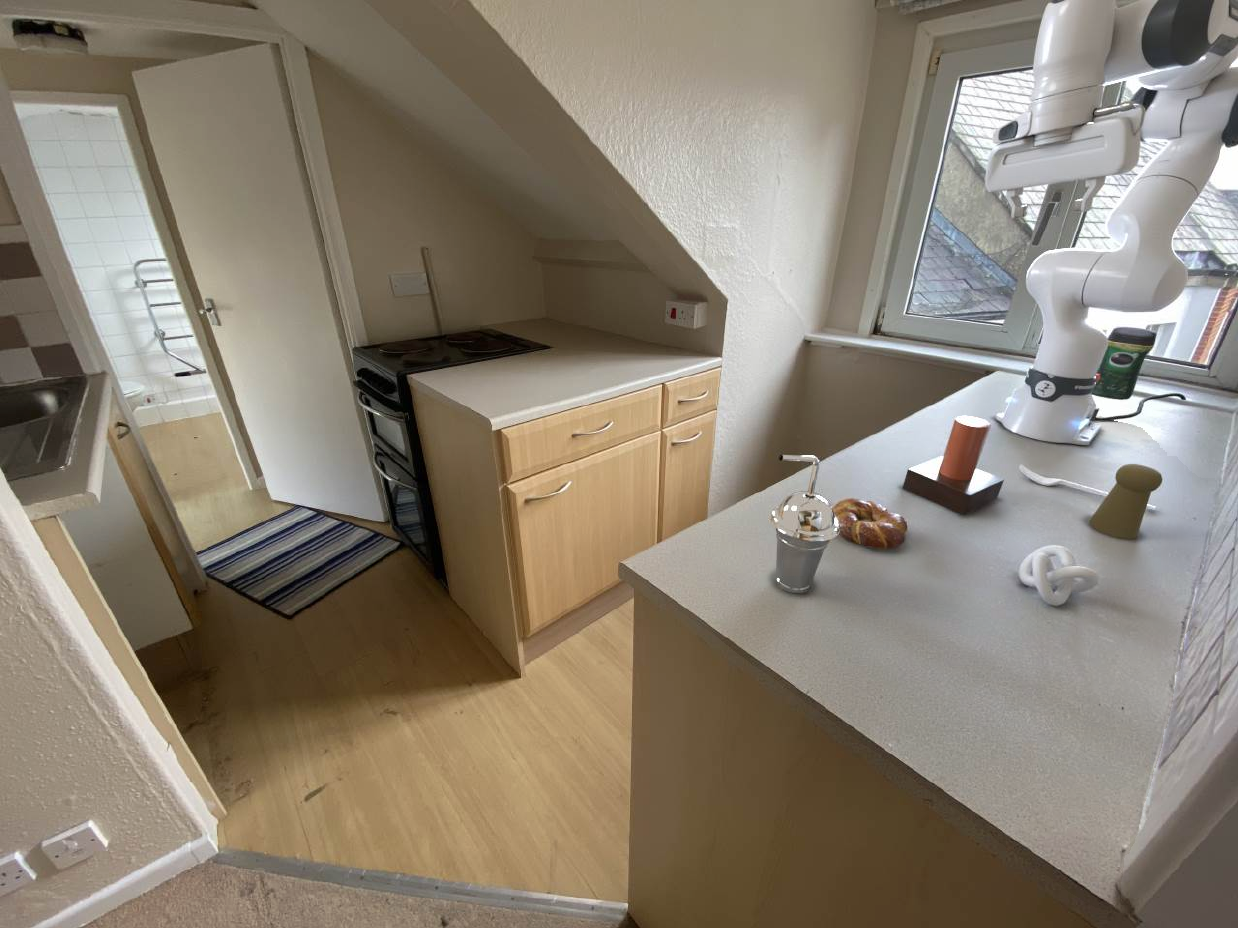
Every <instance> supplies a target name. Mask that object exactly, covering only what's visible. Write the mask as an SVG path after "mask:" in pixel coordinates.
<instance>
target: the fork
mask: <svg viewBox="0 0 1238 928" xmlns="http://www.w3.org/2000/svg"><path fill="white" fill-rule="evenodd" d="M1018 469H1019V471H1021V472H1022V473H1023V474H1024V476H1026V477H1027V478H1029V479H1030V480H1032V481H1033V482H1035V483H1037V484H1038V485H1042V486H1046V487H1047V486H1049V487H1050V486H1055V485H1063V486H1066V487H1070V488H1072V489H1077V490H1080V491H1082V492H1083V491H1084V492H1088V493H1091V494H1094V495H1098V496H1101V497H1104V498H1106V497H1107V495H1108V494H1109V493H1110V492H1107V491H1103V490H1100V489H1097V488H1095V487H1094V488H1093V487H1089V486H1087V485H1082V484H1080V483H1076V482H1073V481H1069V480H1066V479H1062V478H1055V477H1053V478H1052V477H1046V476H1043V475H1040V474H1038V473H1036V472H1034V471H1032V470H1030V469H1028V468H1027V467H1026V466H1024V465H1023V464H1021V463H1020V465H1019V467H1018ZM1146 509H1148V510H1152V511H1155V512H1156V511H1157V506H1155V505H1152V504H1149V503H1148V504H1147V507H1146Z"/></svg>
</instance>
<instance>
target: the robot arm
mask: <svg viewBox="0 0 1238 928" xmlns="http://www.w3.org/2000/svg"><path fill="white" fill-rule="evenodd" d="M1116 1H1117V0H1050V1H1049V2H1048V3H1047V5H1046V6H1045V8H1044V11H1043V12H1044V13H1043V14H1042V17H1041V21H1040V25H1039V29H1038V34H1037V40H1036V43H1035V45H1036V46H1035V49H1034V56H1033V65H1032V73H1033V77H1034V79H1033V80H1034V81H1033V82H1034V83H1033V88H1032V92H1031V94H1030V97H1029V101H1028V107H1027V109H1028V110H1026V111H1024V112H1023V113H1021V114H1019V115H1018V116H1017V117H1015V118H1013V119H1011V120H1009V121H1008V122H1006V123H1005V124H1003V125H1001V126H999V127H998V128H996V129H995V130H994V131H993V133H992V143H993V144H995V146H993V148H992V149H991V151H990V153H989V156H988V157H987V158H988V159H987V164H986V169H985V170H986V171H985V177H984V178H985V179H984V188H985V189H986V191H987V192H988V193H997V192H1005V191H1006V195H1005V199H1006V201H1007V202H1008V204H1009V206H1010V209H1011V214H1010V218H1011V219H1021V218H1026V217H1027V215H1028V207H1029V206H1028V204H1025V205H1024V204H1023V202H1022V199H1021V198H1020V197H1021V196H1022V195H1023V194H1024V189H1026V188H1032V187H1039V186H1047V185H1048V186H1049V185H1053V184H1054V185H1055V184H1061V183H1067V182H1068V183H1069V182H1074V181H1075V182H1077V181H1082V180H1085V188H1088V189H1087V190H1086V192H1085V193H1084V195H1083V196H1082V198H1080V199H1077V200H1074V208H1073V213H1085V212H1089V211H1091V209H1092V208H1093V202H1094V201H1093V200H1094V198H1095V197H1096V196H1097V194H1098V193H1099V192H1100V190H1101V189H1102V188H1103V187H1104V186H1105V183H1106V177H1111V176H1117V175H1122V174H1123V175H1124V174H1127V173H1130V172H1131V171H1132V170H1133V169H1135V167H1136V166H1137V165H1138V163H1139V160H1140V153H1141V143H1147V142H1167V143H1166V145H1165V146H1164V147H1163V148H1162V149H1161V150H1160V151H1159V152H1157V154H1155V155H1154V157H1153V158H1152V159H1151V160H1150V161H1149V162H1148V163H1147V164H1146V165H1145V166H1144V167H1143V168H1142V170H1141V171H1140V172H1139V173H1138V175H1136V177H1135V178H1134V180H1133V181H1132V182H1131V183H1130V185H1129V186H1128V187H1127V189H1126V191H1125V192H1124V193H1123V195H1122V196H1121V197H1120V199H1119V200H1118V202H1117V203H1116V204H1115V206H1114V207H1113V208H1112V210H1111V211H1110V213H1109V214H1108V215H1107V218H1106V221H1105V232H1106V234H1107V236H1108V237H1109V238H1110V239H1111V240H1112V241H1113V242H1114V243H1115V244H1117V245H1118V246H1120V247H1119V248H1116V249H1111V250H1110V249H1109V250H1108V249H1093V248H1092V249H1091V248H1079V247H1072V248H1071V247H1070V248H1060V249H1053V250H1048V251H1045V252H1043V253H1042V254H1041V255H1039V256H1038V257H1037V258H1036V259H1035V260H1034V261H1033V262H1032V263H1031V265H1030V267H1029V268H1028V269H1027V273H1026V277H1025V287H1026V289H1027V292H1028V293H1029V295H1030V296H1031V297H1032V298H1033V299H1034V300H1035V302H1036V303H1037V305H1038V308H1039V310H1040V313H1041V317H1042V324H1043V325H1042V326H1043V327H1042V335H1041V340H1040V343H1039V347H1038V351H1037V353H1036V356H1035V359H1034V362H1033V363H1032V365H1031V366H1029V369H1028V371H1027V372H1026V374H1025V379H1024V384H1022V385H1020V386H1018V387H1015V388H1014V390H1013V392H1012V394H1011V397H1006V400H1005V403H1007V406H1006V408H1005V410H1004V412H1002V413H997V414H996V416H995V419H996V421H999V422H1001V424H1002V426H1003V427H1004V428H1006V429H1007V430H1009V431H1011V432H1012V433H1015V434H1018V435H1020V436H1023V437H1027V438H1030V439H1034V440H1037V441H1042V442H1049V443H1058V444H1071V445H1079V446H1089V445H1090V444H1091V442H1093V440H1094V438H1095V437H1096V435H1097V434H1098V433H1099V432H1100V429H1101V425H1100V424H1097V423H1096V422H1094V421H1097V422H1099V421H1102V422H1103V421H1105V422H1106V421H1108V422H1109V421H1117V420H1124V419H1132V418H1135V417H1137V416H1139V415H1140V414H1141V413H1142V411H1143V408H1144V404H1145V403H1146V402H1148V401H1151V400H1158V399H1165V398H1170V397H1177V398H1179V399H1181V400H1182V401H1187V398H1186V396H1185V395H1184V394H1182V393H1178V392H1170V393H1164V394H1158V395H1151V396H1146V397H1144V398H1143V399H1141V400H1140V401H1139V403H1138V407H1137V410H1136V411H1135V412H1133V413H1132V412H1131V413H1128V414H1119V415H1114V416H1105V417H1097V416H1098V413H1099V411H1100V407H1097V404H1096V402H1095V400H1094V398H1093V395H1091V393H1092V392H1093V390H1094V387H1095V385H1096V382H1097V381H1098V380H1099V377H1100V374H1096V373H1097V370H1098V368H1099V366H1100V363H1101V361H1102V359H1103V357H1104V354H1105V352H1106V350H1107V347H1108V339H1107V338H1108V336H1107V334H1106V333H1105V332H1104V331H1103V330H1102V329H1101V328H1099V327H1098V326H1096V325H1095V324H1094V323H1093V322H1092V320H1091V317H1090V312H1089V311H1090V308H1091V309H1092V308H1093V309H1100V310H1107V311H1111V312H1112V311H1113V312H1119V313H1120V312H1121V313H1155V312H1159V311H1161V310H1164V309H1165V308H1167V307H1168V306H1170V305H1171V304H1173V303H1174V302H1175V301H1176V300H1178V298H1179V297H1180V296H1181V295H1182V294H1183V292H1184V290H1185V289H1186V286H1187V284H1188V280H1189V271H1188V267H1187V265H1186V264H1185V262H1184V260H1182V259H1181V258H1180V257H1178V255H1177V253H1176V252H1175V250H1174V247H1173V240H1174V236H1175V233H1176V232H1177V230H1178V228H1179V227H1180V225H1181V223H1182V222H1183V220H1184V219H1185V217H1186V216H1187V214H1188V213H1189V211H1190V210H1191V209H1192V208H1193V206H1194V204H1195V203H1196V202H1197V201H1198V199H1199V198H1200V196H1201V195H1202V193H1203V192H1204V191H1205V188H1206V187H1207V186H1208V184H1209V182H1210V180H1211V178H1212V176H1213V174H1214V172H1215V170H1216V168H1217V166H1218V163H1219V161H1220V158H1221V152H1222V148H1223V146H1225V148H1227V149H1231V148H1233V147H1236V146H1238V66H1234V67H1233V66H1232V65H1234V64H1235V62H1236V61H1237V60H1238V1H1237V0H1137V1H1134V2H1131V3H1129V4H1126V5H1123V6H1121V7H1119V6H1118V5H1116V3H1117V2H1116ZM1131 79H1135V81H1136V82H1137V83H1138V85H1140V87H1139V88H1138V89H1137V91H1136V92H1135V93H1133V94H1132V96H1131V98H1130V99H1129V100H1127V101H1124V102H1121V103H1118V104H1112V105H1107V106H1103V107H1102V104H1103V98H1104V92H1105V87H1106V86H1108V85H1112V84H1116V83H1119V82H1123V81H1128V80H1131Z"/></svg>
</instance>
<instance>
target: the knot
mask: <svg viewBox="0 0 1238 928" xmlns="http://www.w3.org/2000/svg"><path fill="white" fill-rule="evenodd" d="M1051 557H1059V559H1060V562H1061V567H1059V568H1056V569H1055V567H1054V563H1053V561H1052V558H1051ZM1018 578H1019V581H1020V583H1022V584H1023V585H1025V586H1027V587H1029V588H1036V590H1037V591H1038V594H1039V595H1040V597H1041V598H1042V599H1043V601H1045V602H1046V604H1048V605H1051V606H1055V607H1056V606H1061V605H1063V604H1065V603H1066V602H1067V600H1069V598H1070V595H1071V593H1083V592H1087V591H1091V590H1092V589H1094V588H1096V587H1097V586H1098V585H1099V582H1100V578H1099V575H1098V574H1097V572H1096V571H1094V569H1093V570H1092V569H1091V568H1089V567H1086V566H1079V565H1077V563H1076V558H1075V555H1074V554H1073V553H1072V551H1070V550H1069V549H1068V548H1066V547H1064V546H1062V545H1057V544H1050V545H1045V546H1042V547H1040V548H1038V549H1035V550H1034V551H1032V552H1030V554H1028V556H1026V557H1025V558H1024V559H1023V561H1022V562H1021V564H1020V566H1019V569H1018ZM1076 578H1077V579H1080V580H1075V579H1076ZM1052 587H1053V588H1056V589H1055V591H1054V590H1053V589H1052Z"/></svg>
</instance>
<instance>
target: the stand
mask: <svg viewBox="0 0 1238 928" xmlns="http://www.w3.org/2000/svg"><path fill="white" fill-rule="evenodd" d="M943 456H944V455H941V456H938V457H936V458H933V459H931V460H927V461H925V462H922V463H920V464H917V465H915V466H912V467H910V468H907V471H906V475H905V477H904V482H903V485H902V489H904V490H905V491H907V492H910V493H912V494H914V495H917V496H918V497H920V498H923V499H925V500H927V501H929V502H932V503H934V504H935V505H936V504H937V506H938V505H939V506H940V507H943V508H944V509H947V510H950V511H952V512H954V513H956V514H958V515H960V516H966V515H967V514H969V513H972V512H973V511H976V510H978V509H980V508H982V507H984V506H985V505H988V504H990V503H992V502H994V501H996V500H998V498H999V495H1000V492H1001V490H1002V488H1003V485H1004V482H1005V479H1004V478H1001V477H999V476H997V475H994V474H991V473H989V472H986V471H983V470H980V469H978V468H976V469H975V472H974V475H973V478H972V479H971V480H968V481H960V480H954V479H951V478H948V477H946V476H944V475H942V474H941V473H940V472H939V468H940V465H941V462H942V459H943Z"/></svg>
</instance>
